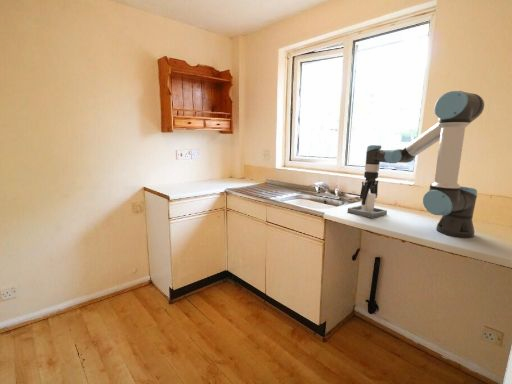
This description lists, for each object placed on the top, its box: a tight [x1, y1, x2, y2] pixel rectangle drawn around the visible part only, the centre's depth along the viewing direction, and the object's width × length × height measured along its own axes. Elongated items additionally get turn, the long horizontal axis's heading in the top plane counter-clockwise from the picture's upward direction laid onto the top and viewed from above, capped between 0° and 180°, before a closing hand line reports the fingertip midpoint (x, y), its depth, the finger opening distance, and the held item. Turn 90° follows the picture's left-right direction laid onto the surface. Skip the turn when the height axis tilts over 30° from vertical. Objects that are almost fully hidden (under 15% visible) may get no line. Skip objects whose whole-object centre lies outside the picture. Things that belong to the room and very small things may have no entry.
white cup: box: [361, 192, 377, 212], centre depth 166 cm, size 8×8×10 cm
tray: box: [347, 205, 388, 219], centre depth 167 cm, size 16×16×2 cm
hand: (367, 209), depth 167 cm, fingers open, 8 cm apart
